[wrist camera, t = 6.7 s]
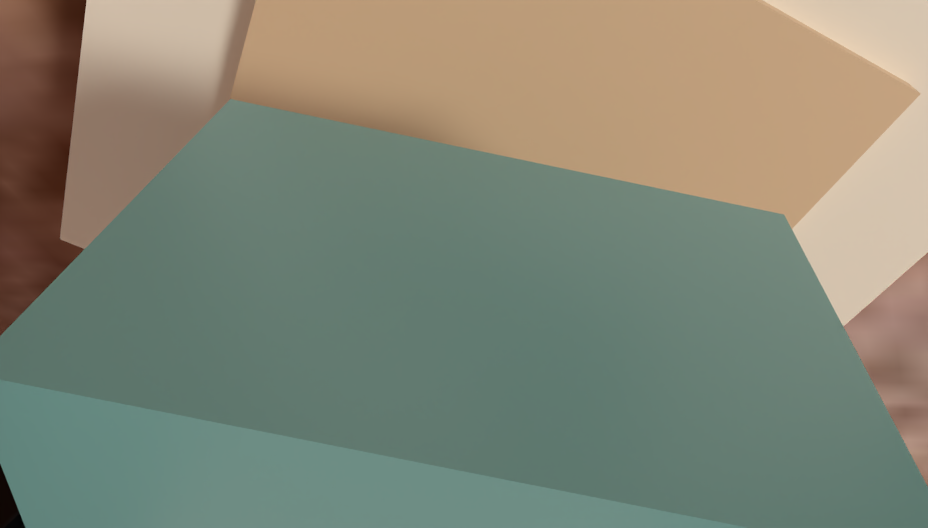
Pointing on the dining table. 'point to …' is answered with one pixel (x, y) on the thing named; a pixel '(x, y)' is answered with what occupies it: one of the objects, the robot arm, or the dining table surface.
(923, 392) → the dining table surface
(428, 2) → the board
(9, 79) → the dining table surface
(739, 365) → the mint green cube
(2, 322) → the dining table surface
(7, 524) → the robot arm
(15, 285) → the dining table surface
